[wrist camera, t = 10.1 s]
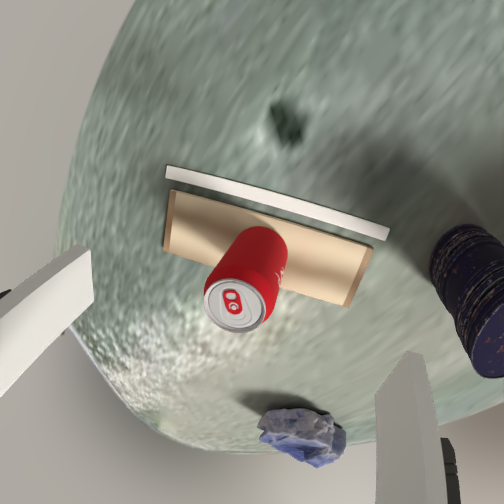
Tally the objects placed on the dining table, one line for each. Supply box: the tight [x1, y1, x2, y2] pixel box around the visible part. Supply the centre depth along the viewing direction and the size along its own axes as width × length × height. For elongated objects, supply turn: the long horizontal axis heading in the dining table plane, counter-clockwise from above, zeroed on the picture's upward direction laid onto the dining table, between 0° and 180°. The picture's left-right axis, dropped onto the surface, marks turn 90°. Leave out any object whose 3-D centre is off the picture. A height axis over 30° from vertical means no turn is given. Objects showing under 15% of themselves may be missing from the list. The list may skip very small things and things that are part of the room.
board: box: [163, 189, 374, 308], centre depth 36 cm, size 8×24×1 cm, turn 78°
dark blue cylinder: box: [429, 224, 504, 379], centre depth 25 cm, size 10×10×15 cm
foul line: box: [165, 165, 390, 241], centre depth 33 cm, size 2×26×1 cm, turn 78°
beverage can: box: [204, 226, 288, 333], centre depth 30 cm, size 6×6×12 cm
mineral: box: [257, 408, 346, 468], centre depth 44 cm, size 14×10×10 cm
